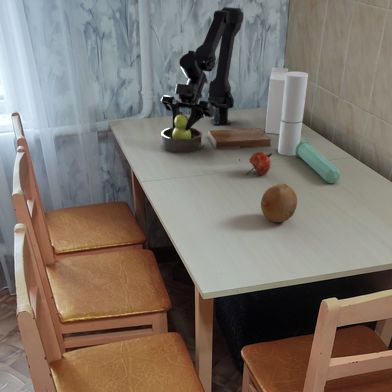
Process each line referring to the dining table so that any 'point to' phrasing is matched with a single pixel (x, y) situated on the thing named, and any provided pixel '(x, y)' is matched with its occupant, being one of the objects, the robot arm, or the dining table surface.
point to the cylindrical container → (292, 112)
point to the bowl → (181, 141)
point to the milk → (275, 100)
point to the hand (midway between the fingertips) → (179, 128)
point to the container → (317, 162)
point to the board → (239, 138)
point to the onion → (279, 203)
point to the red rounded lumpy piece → (260, 162)
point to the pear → (181, 127)
